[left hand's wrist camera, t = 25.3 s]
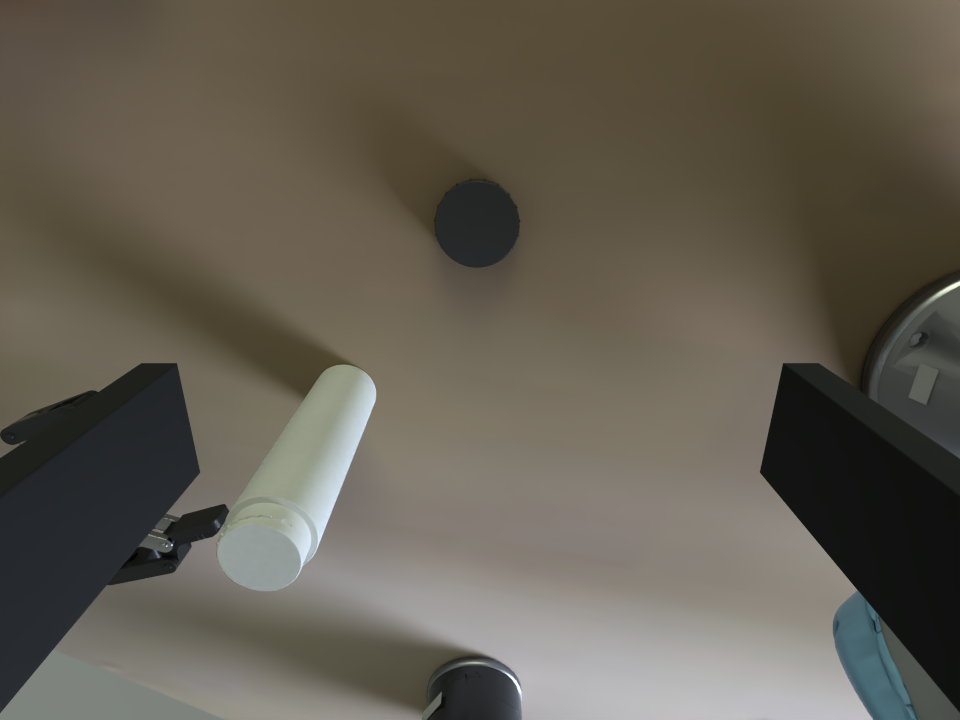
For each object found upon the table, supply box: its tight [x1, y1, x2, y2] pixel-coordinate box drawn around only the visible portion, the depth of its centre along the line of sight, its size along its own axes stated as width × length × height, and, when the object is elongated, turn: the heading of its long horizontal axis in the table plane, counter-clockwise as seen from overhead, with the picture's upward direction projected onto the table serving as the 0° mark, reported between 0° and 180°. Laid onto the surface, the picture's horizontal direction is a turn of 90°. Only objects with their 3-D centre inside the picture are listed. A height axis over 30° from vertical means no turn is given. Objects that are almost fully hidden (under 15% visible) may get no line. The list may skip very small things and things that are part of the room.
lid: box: [434, 179, 520, 267], centre depth 39 cm, size 6×6×2 cm
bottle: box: [216, 365, 376, 591], centre depth 36 cm, size 5×5×19 cm
